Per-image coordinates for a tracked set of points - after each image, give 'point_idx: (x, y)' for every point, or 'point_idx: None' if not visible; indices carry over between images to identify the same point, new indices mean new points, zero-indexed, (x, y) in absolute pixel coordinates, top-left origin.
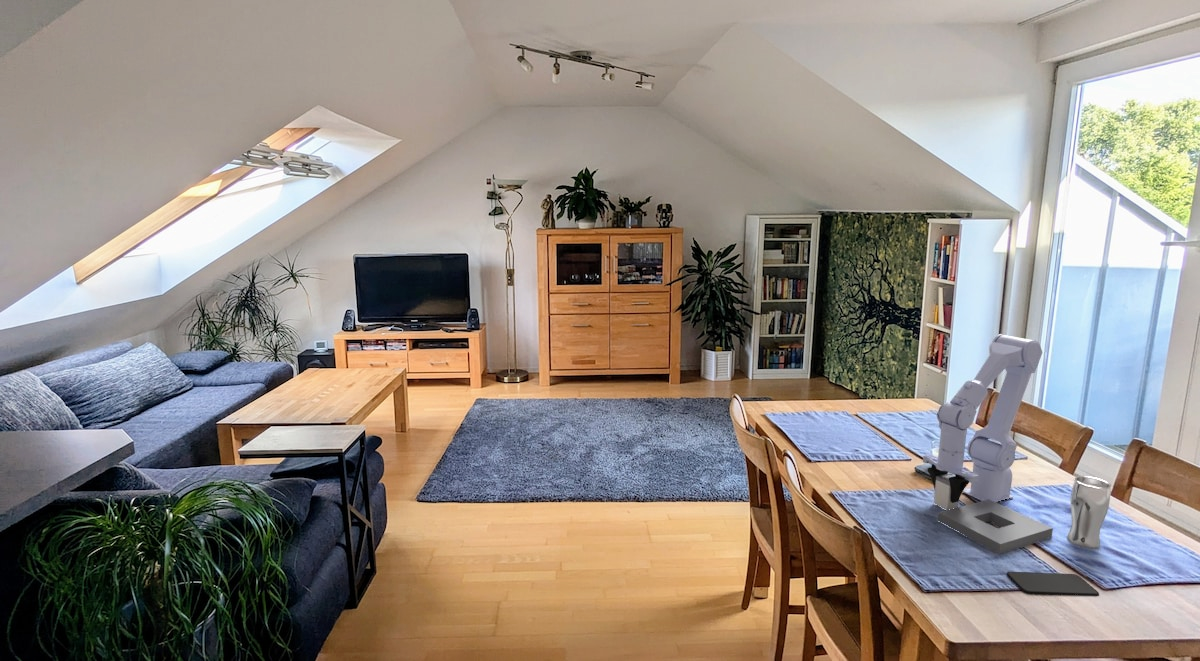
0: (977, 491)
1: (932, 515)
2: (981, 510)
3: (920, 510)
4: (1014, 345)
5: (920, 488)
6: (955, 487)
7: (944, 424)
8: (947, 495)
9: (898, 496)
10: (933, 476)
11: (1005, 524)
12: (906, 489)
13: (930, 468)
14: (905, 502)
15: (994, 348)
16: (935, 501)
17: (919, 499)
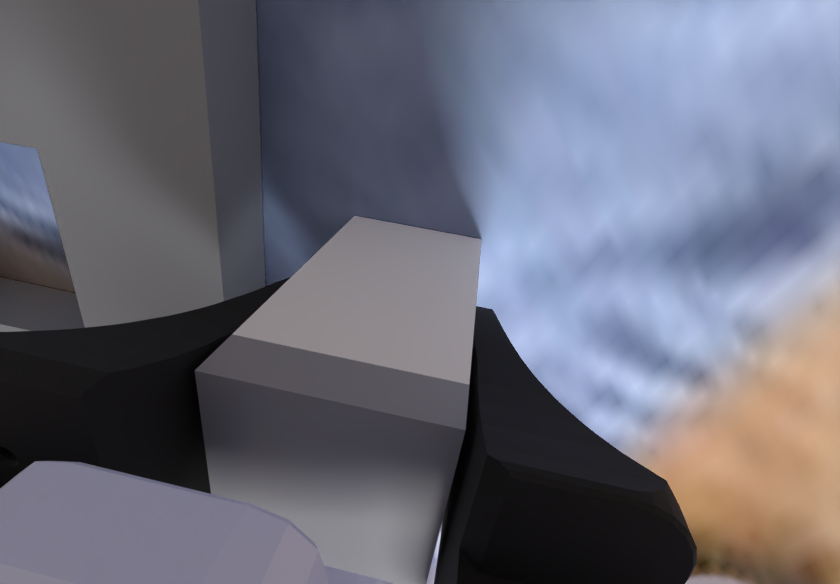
0: None
1: (363, 16)
2: (122, 316)
3: (489, 8)
4: None
5: (692, 417)
6: (127, 325)
7: None
8: (310, 270)
9: (810, 115)
10: (520, 418)
11: (23, 300)
12: (788, 324)
13: (642, 569)
14: (690, 41)
15: None
16: (464, 249)
17: (611, 232)
